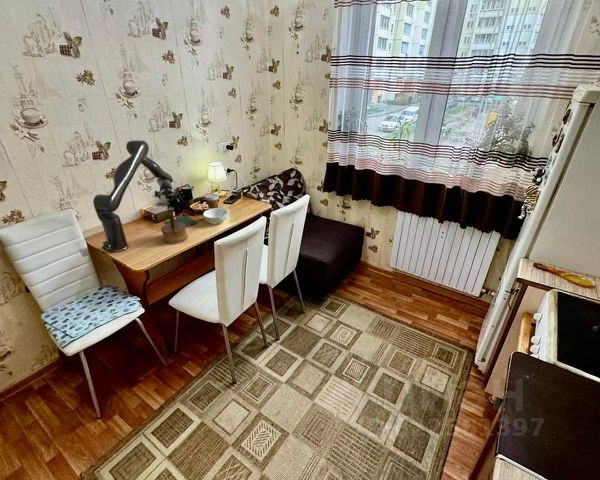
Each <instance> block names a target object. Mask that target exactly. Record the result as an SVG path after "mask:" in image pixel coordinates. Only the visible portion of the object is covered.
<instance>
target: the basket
mask: <svg viewBox="0 0 600 480" xmlns="http://www.w3.org/2000/svg"><path fill="white" fill-rule="evenodd" d="M161 232H162V231H161ZM162 237H163V241H164V243H166V244H168V245H176V244H181V243H184V242H185V241H186V240H187V239H188V233H187V227H186V228H185V229H184V230H183V231H181V232H177V233H164V232H162Z"/></svg>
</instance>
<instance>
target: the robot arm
mask: <svg viewBox="0 0 600 480" xmlns="http://www.w3.org/2000/svg"><path fill="white" fill-rule="evenodd" d="M125 147H126V151H127V153H128V154H129V155H130V156H129V157H128V158H125V160H123V161H122V162H120V164H119V165H118V166H117V167H116V169H115V170H114V172H113V174H112V180H113V188H112V191H111V192H110V194H101V193H99V194H96V195H95V196H94V197H93V201H92V202H93V203H92V204H93V208H94V210H95V213H96V216H97V218H98V220H99V221H100V222H101V225H102V227H103V228H102V229H103V231H104V236H105V239H106V241H103V242H102V249H103V250H104V251H109V250H110V252H111V253H119V252H124V251H125V250H127V249H128V248H129V244H128V240H127V237H126V235H125V231H124V228H123V224H122V220H121V217H120V215H119V214H117V213H115V212H116V211H117V210H118V208H119V207H120V205H121V202H122V200H123V198H124V195H125V193H126V190H127V189H128V188H129V185H130V184H131V181H132V180H133V178H134V176H135V174H136V172H137V170H138V168H139V167H140V165H142V166H143V167H145V168H146V169H147V171H149V173H151V174H152V176H153V177H154V178H157V179H156V184H157V185H158V186H159V191H158V190H154V198H158V199H159V200H162V197H164V196H165V197H168V196H173V197H174V198H176V197H177V196H179V195H180V191H179V189H178V187H176V188H173V186H172V183H173V181H174V179H173V176H172V175H171V174H170V173H168V172H166V171H165V170H164V169H163V168H162V167H161V166H160V165H159V163H157V162H156V161H154V160H153V159H151V158H150V157H148V156H147V155H148V154H149V150H150V147H149V144H148V143H147V142H146V141H145V140H129V141H127V143H126V145H125Z"/></svg>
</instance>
